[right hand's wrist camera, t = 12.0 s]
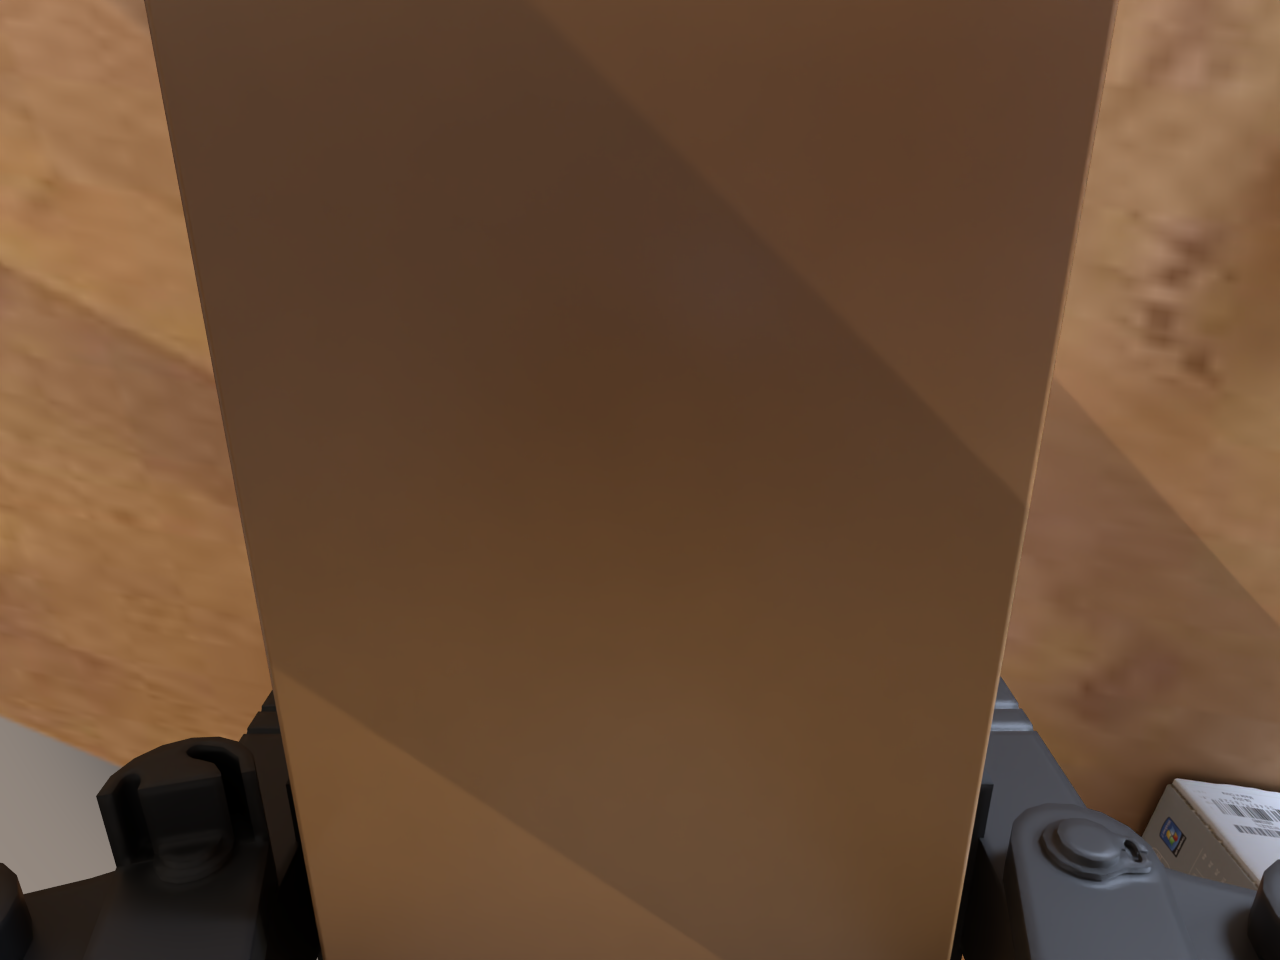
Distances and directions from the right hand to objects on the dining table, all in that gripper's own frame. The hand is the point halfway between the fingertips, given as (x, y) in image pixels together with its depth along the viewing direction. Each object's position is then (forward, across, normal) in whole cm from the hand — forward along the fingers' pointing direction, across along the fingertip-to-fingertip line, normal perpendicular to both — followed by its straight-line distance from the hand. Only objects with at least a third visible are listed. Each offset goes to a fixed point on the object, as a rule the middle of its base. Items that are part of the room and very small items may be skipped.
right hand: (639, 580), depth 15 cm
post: (0, 0, -21) cm, 21 cm away
